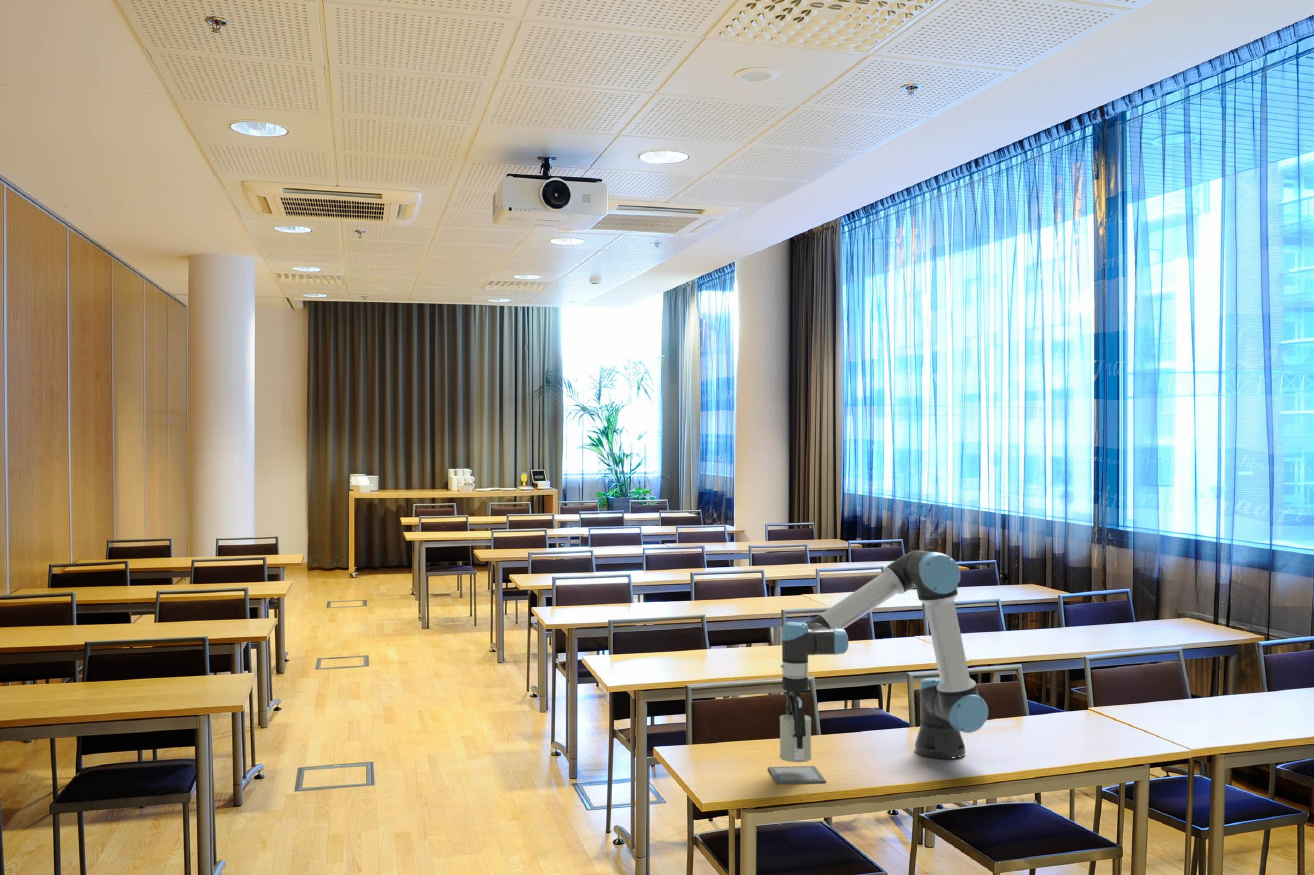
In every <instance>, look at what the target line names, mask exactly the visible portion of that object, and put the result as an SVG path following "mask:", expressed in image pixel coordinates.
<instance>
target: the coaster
mask: <svg viewBox="0 0 1314 875" xmlns="http://www.w3.org/2000/svg"><path fill="white" fill-rule="evenodd" d="M767 769H768V771H769V773H770V775H771V777H772V778H773V780H774V781H775V783H776V785H793V784H794V785H795V784H796V785H797V784H798V785H800V784H826V783H827V780H826V779H825V778H824V776H823V775H822V773H821V772H820V771H819V770H818V769H817V767H816V766H815V765H806V766H805V765H804V766H803V765H802V766H801V765H799V766H798V765H797V766H768V767H767Z"/></svg>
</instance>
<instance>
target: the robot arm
mask: <svg viewBox="0 0 1314 875" xmlns="http://www.w3.org/2000/svg"><path fill="white" fill-rule="evenodd" d="M960 581H961V571H960V567H959V565H958V563H957V562H956V560H954V559H953V557H951V556H950V555H947V554H945V553H943V552H939V551H929V550H924V549H916V550H913V551H910V552H907V553H905V554H904V555H902V556H900V557H899V558H897V559H895V560H894V561H893V562H891V563H889V564H888V565H887V566H885V567H884V568H883V571H882V573H880V574H879V575H877V577H875V578H873V579H871V580H870V581H868V582H867V583H866V584H864V585H863V586H861V587H860V588H858V589H857V590H855V591H854V592H852V593H851V594H849V595H848V596H846V597H845V598H843V599H842V600H840V601H839V602H837V603H835V604H834V605H833V606H831V607H830V608H828V609H827V610H825V611H823V612H822V613H820V614H819V615H818V616H815V617H814V618H812V619H811V620H804V621H788V622H784V623H783V625H782V629H781V654H782V655H781V656H782V657H781V660H782V664H780V669H782V674H781V675H783V676H782V677H781V681H782V682H781V684H782V686H781V688H782V690H784V691H785V692H786V709H785V712H786V713H785V714H789V715H793V718H794V728H795V734H793V737H794V759H795V760H804V736H806V730H805V715H806V712H805V704H806V703H805V700H804V697H803V696H802V693H803V692H807V691H808V690H809V678H808V675H809V656H817V655H820V656H821V655H825V656H826V655H828V656H829V655H831V656H832V655H834V656H836V655H842V654H845V653H847V651H848V649H849V637H848V633H847V631H846V630H845V629H846V628H848V627H849V626H850V625H851V624H853V623H854V622H856V621H857V620H860V619H861V618H862V617H863V616H865V615H866V614H868V613H870V612H872V611H873V610H875V609H876V608H878V606H880V605H881V604H883V603H885V602H886V601H887V600H889V599H891V598H892V597H894V596H895V595H897V594H899V595H903V594H904V593H906V592H908V591H909V590H913V589H916V592H917V594H916V595H917V597H918V600H919V602H921V603H922V604H924V606H925V611H926V612H925V613H926V617H927V621H928V627H929V631H930V636H931V641H932V646H933V651H934V656H935V661H936V666H937V670H938V676H939V677H928V678H922V679H921V680H920V682H919V690H918V691H919V711H920V712H919V714H920V715H919V716H920V717H919V718H920V727H919V730H918V732H917V736H916V739H915V742H914V743H915V744H914V749H915V752H916V754H918V753H919V755H921V754H922V755H921V756H923V755H925V756H924V757H927V756H929V758H932V757H937V758H936V759H940V758H952V757H959V756H962V755H964V754H965V755H966V746H965V743H964V740H963V737H962V734H961V732H962V733H965V734H971V733H974V732H978V730H980V729H982V727H983V726H984V725H985V723H986V722H987V720H988V717H989V716H988V715H989V709H988V708H989V707H988V704H987V702H986V701H985V700H984V698H983V697H981V695H979V692H978V691H979V690H978V686H977V682H976V681H975V680H974V679H972V678H971V677H970V674H969V667H968V664H967V658H966V653H965V647H964V643H963V638H962V633H961V630H960V629H961V628H960V625H959V624H960V623H959V619H958V614H957V610H956V608H957V607H956V604H955V599H956V598H957V596H958V595H959V594H958V585H959V583H960ZM799 731H802V732H799ZM965 755H964V756H965Z"/></svg>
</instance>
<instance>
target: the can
mask: <svg viewBox="0 0 1314 875" xmlns="http://www.w3.org/2000/svg"><path fill="white" fill-rule="evenodd" d="M811 729H812V718H811V716H809V715H806V714H805V730H806V736H804V760H795V759H794V737H793V734H795V728H794V718H793V715H789V714H786V713H785V714H782V715H780V716H779V758H780V760H782V761H785V762H790V763H805V762H808V761H811V760H812V734H811V733H812V730H811ZM799 732H802V731H799Z"/></svg>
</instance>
